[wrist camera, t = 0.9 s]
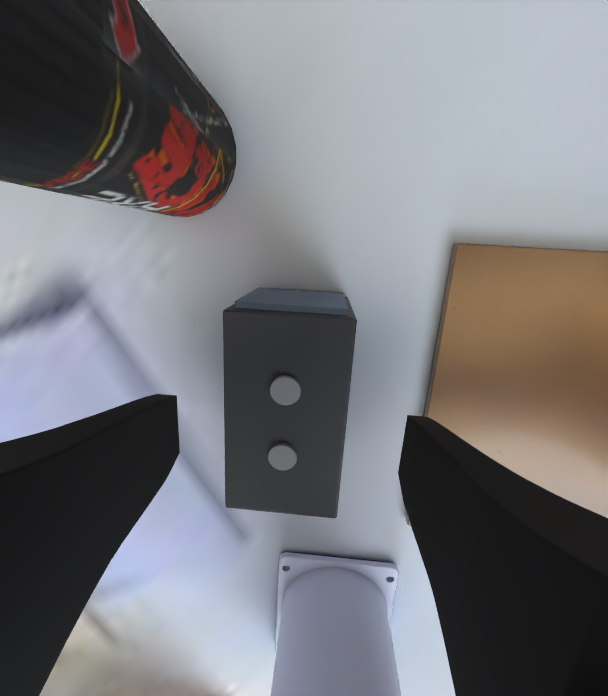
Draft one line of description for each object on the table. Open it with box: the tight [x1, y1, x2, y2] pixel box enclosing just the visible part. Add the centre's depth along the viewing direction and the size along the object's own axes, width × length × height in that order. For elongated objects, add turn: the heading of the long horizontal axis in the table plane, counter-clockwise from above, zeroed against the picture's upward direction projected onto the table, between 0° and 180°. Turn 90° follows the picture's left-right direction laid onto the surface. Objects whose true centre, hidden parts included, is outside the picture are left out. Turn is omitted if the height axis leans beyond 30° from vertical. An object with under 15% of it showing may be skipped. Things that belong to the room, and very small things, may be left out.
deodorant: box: [0, 0, 236, 217], centre depth 10 cm, size 6×6×15 cm
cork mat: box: [406, 243, 608, 526], centre depth 19 cm, size 17×18×1 cm
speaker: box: [223, 288, 357, 518], centre depth 17 cm, size 9×5×6 cm, turn 177°
